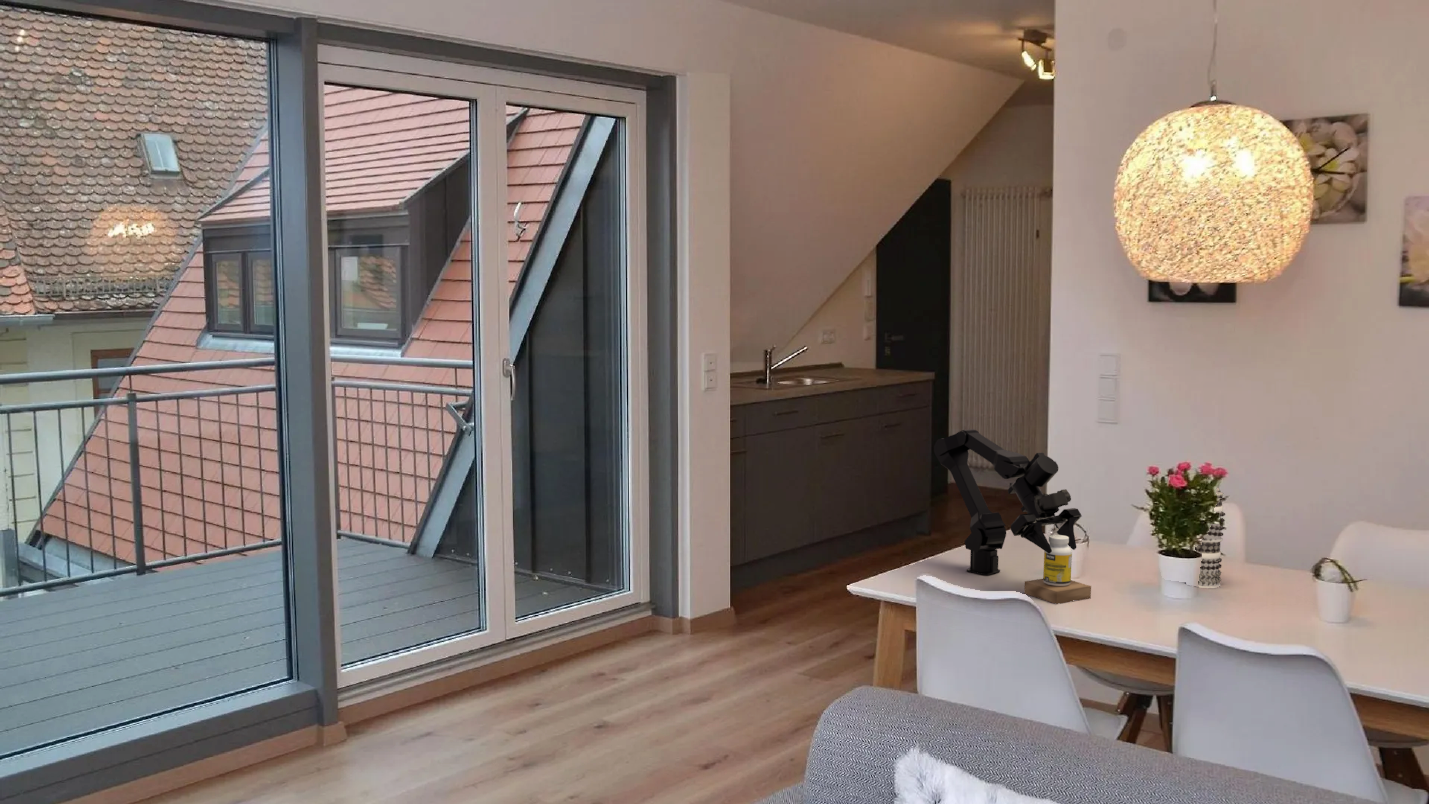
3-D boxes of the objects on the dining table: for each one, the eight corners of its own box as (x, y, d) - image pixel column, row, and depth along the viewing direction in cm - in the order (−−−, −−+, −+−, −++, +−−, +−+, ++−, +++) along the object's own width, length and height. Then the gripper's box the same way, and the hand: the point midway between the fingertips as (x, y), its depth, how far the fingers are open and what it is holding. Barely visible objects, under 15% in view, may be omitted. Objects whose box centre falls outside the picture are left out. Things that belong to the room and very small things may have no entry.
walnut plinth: (1024, 593, 295) (1024, 581, 294) (1057, 588, 300) (1058, 576, 300) (1056, 604, 285) (1057, 591, 285) (1090, 598, 290) (1091, 586, 290)
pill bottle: (1037, 583, 293) (1039, 536, 291) (1052, 579, 297) (1054, 532, 296) (1061, 588, 288) (1062, 540, 286) (1076, 584, 292) (1077, 537, 291)
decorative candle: (1192, 589, 299) (1196, 489, 297) (1176, 579, 308) (1180, 483, 306) (1228, 588, 299) (1233, 489, 297) (1212, 579, 309) (1216, 483, 306)
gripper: (1020, 481, 289) (1051, 535, 280) (1077, 475, 297) (1109, 528, 289) (996, 508, 296) (1026, 561, 288) (1053, 502, 305) (1084, 553, 297)
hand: (1062, 550), depth 290 cm, fingers open, 8 cm apart
